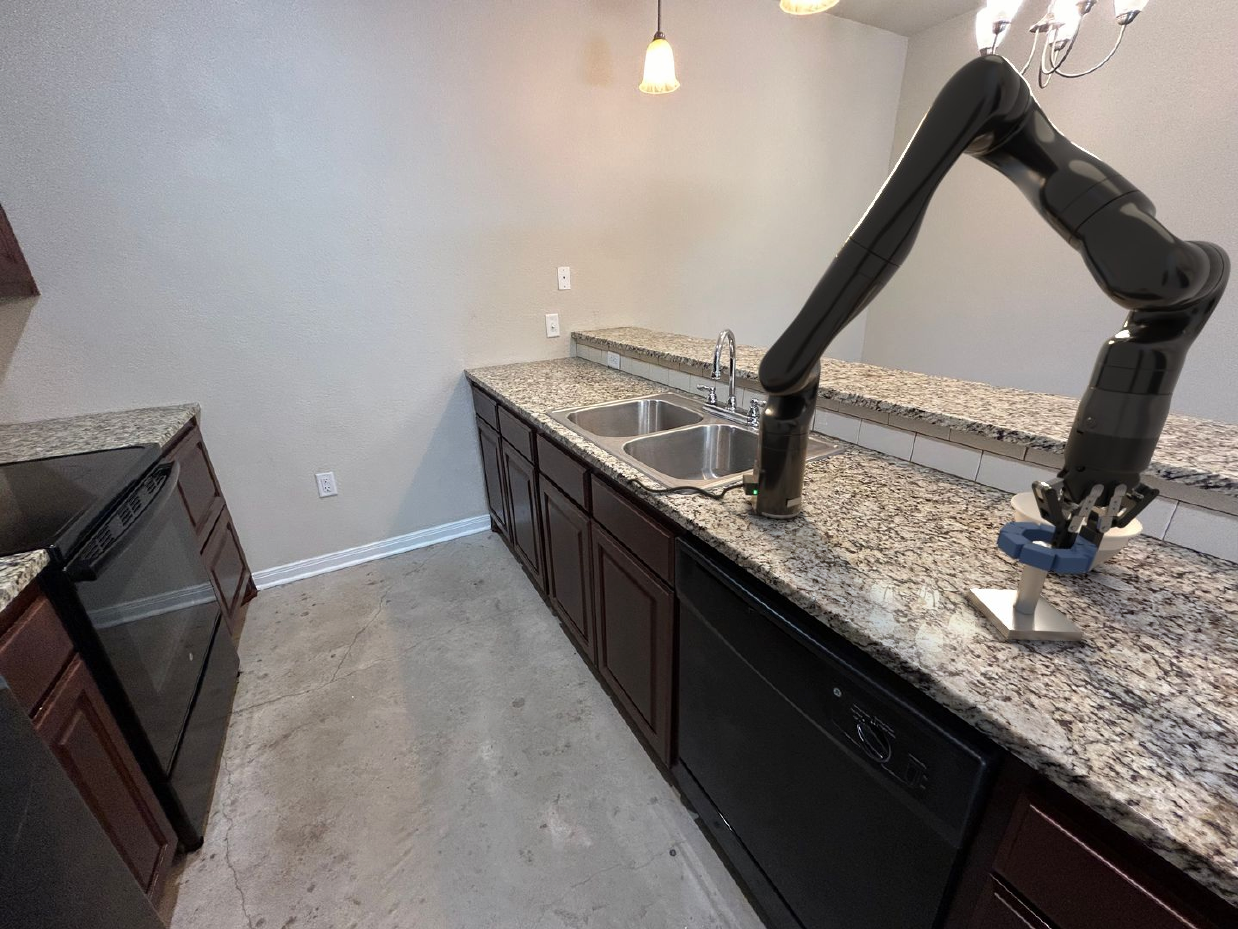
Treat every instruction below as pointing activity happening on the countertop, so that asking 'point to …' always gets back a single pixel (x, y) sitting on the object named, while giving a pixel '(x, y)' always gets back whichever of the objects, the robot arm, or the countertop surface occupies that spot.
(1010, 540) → the ring
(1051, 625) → the metal peg stand
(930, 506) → the countertop surface
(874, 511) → the countertop surface
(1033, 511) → the bowl
